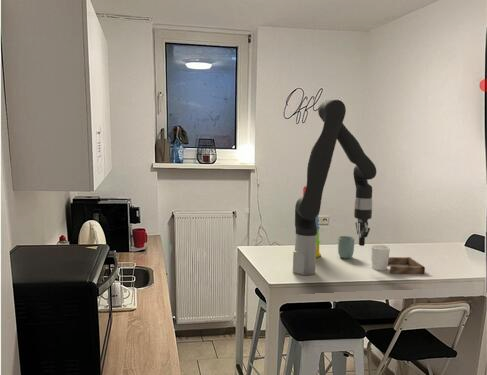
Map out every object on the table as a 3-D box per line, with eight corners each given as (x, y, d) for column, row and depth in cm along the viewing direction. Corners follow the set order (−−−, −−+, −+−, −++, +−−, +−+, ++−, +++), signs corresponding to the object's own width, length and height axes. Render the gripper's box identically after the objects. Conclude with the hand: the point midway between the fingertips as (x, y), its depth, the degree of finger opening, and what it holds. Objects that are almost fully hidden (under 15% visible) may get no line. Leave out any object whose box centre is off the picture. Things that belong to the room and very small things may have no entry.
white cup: (376, 271, 188) (378, 249, 187) (366, 266, 196) (368, 245, 195) (391, 270, 191) (393, 249, 189) (381, 265, 198) (383, 244, 197)
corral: (391, 273, 186) (391, 267, 186) (378, 263, 201) (378, 257, 200) (424, 273, 187) (424, 267, 186) (409, 263, 202) (409, 257, 201)
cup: (352, 255, 212) (353, 236, 211) (354, 260, 204) (355, 240, 203) (336, 254, 213) (337, 235, 212) (338, 259, 205) (339, 239, 204)
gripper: (376, 210, 182) (374, 249, 185) (366, 205, 196) (364, 241, 198) (359, 210, 182) (358, 249, 184) (350, 205, 195) (349, 241, 197)
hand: (361, 245), depth 191 cm, fingers closed
